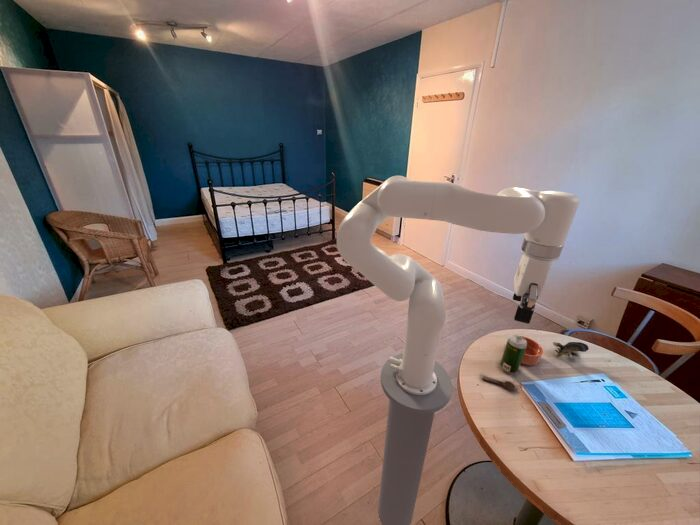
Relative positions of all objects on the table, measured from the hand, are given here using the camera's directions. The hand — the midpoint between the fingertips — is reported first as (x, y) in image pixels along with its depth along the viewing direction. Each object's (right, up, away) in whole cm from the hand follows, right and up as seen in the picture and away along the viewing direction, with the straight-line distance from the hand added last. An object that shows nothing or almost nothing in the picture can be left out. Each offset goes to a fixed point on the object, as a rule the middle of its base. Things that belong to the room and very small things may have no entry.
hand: (520, 310), depth 71 cm
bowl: (+17, -20, +28) cm, 39 cm away
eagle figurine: (+33, -21, +28) cm, 48 cm away
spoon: (+3, -26, +17) cm, 31 cm away
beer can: (+10, -23, +22) cm, 34 cm away
